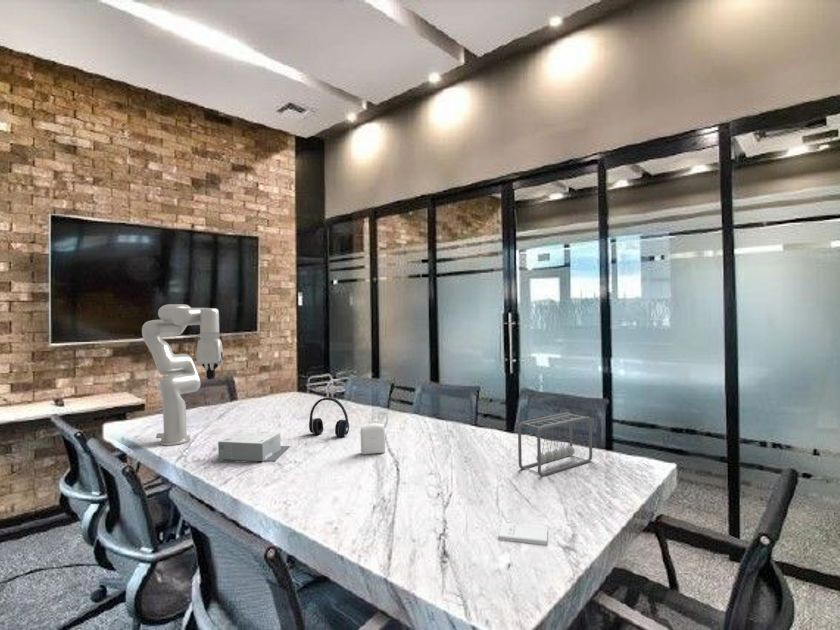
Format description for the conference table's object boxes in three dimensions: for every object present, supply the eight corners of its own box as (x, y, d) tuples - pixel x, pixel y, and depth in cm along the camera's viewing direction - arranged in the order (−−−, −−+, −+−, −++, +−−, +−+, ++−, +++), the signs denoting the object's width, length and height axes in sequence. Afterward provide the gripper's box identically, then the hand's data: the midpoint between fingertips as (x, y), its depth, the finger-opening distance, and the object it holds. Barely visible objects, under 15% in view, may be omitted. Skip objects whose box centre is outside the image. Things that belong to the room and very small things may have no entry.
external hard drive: (547, 547, 119) (498, 541, 123) (548, 532, 127) (501, 527, 131) (547, 541, 119) (498, 535, 123) (547, 526, 127) (501, 521, 131)
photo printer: (361, 455, 196) (360, 425, 196) (360, 452, 200) (360, 423, 200) (385, 453, 198) (385, 424, 197) (384, 450, 202) (384, 421, 202)
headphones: (307, 436, 227) (306, 398, 227) (314, 432, 234) (313, 395, 234) (344, 439, 221) (343, 400, 221) (350, 435, 228) (350, 397, 227)
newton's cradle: (539, 478, 166) (538, 428, 166) (518, 470, 175) (517, 422, 175) (593, 461, 183) (592, 415, 182) (570, 454, 191) (570, 411, 191)
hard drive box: (217, 460, 192) (262, 462, 188) (217, 441, 192) (261, 443, 188) (239, 448, 208) (281, 450, 204) (239, 431, 207) (280, 432, 203)
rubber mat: (221, 462, 191) (221, 461, 191) (241, 447, 211) (241, 446, 211) (275, 461, 190) (275, 460, 190) (290, 446, 210) (290, 445, 210)
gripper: (188, 337, 200) (189, 380, 200) (222, 337, 199) (223, 380, 200) (197, 336, 207) (198, 377, 208) (230, 335, 207) (231, 377, 207)
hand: (210, 378), depth 204 cm, fingers closed
